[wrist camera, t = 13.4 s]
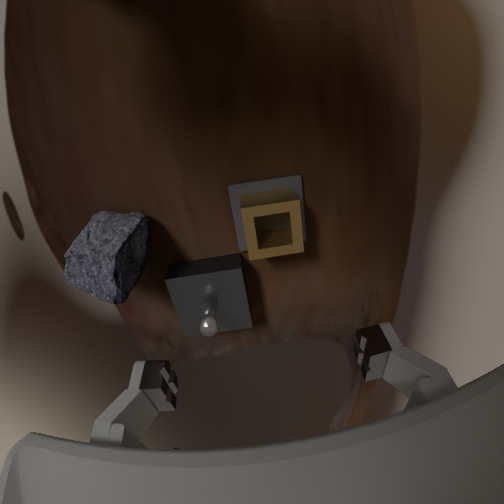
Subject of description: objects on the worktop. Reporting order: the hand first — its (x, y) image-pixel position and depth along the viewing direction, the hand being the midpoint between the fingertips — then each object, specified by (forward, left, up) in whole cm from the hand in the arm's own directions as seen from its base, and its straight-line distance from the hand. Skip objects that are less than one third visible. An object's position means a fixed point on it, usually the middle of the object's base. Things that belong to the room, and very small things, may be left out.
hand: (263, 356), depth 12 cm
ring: (+4, +3, -27) cm, 27 cm away
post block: (+14, -7, -27) cm, 31 cm away
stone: (+4, -18, -28) cm, 33 cm away
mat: (+4, +3, -27) cm, 28 cm away
